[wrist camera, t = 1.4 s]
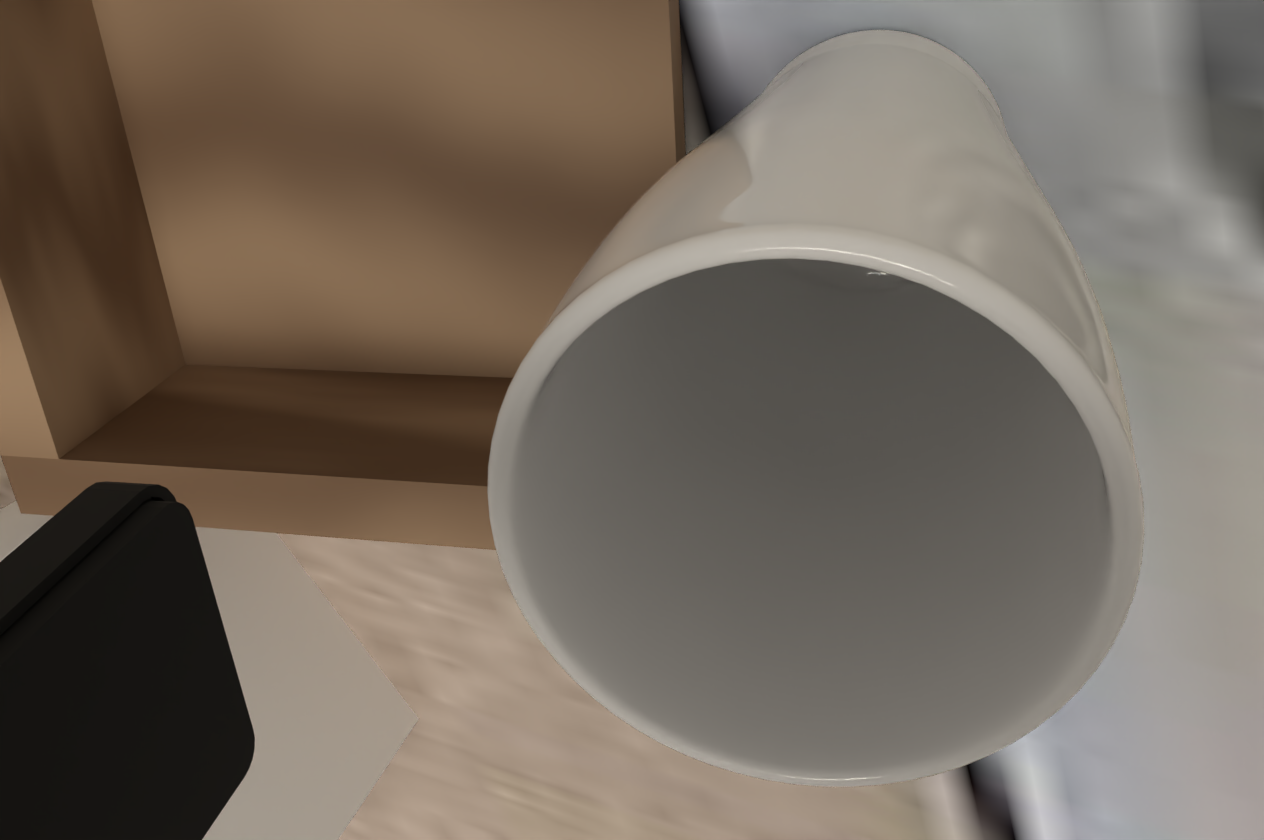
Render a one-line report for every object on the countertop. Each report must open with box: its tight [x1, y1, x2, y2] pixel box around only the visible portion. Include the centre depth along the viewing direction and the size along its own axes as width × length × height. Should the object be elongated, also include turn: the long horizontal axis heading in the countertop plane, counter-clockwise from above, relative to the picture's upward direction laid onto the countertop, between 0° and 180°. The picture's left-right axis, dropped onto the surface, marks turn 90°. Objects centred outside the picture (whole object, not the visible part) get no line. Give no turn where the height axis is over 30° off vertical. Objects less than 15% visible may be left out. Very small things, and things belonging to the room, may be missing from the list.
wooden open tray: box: [0, 0, 686, 550], centre depth 25 cm, size 15×16×6 cm
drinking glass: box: [487, 30, 1144, 787], centre depth 18 cm, size 7×7×15 cm
